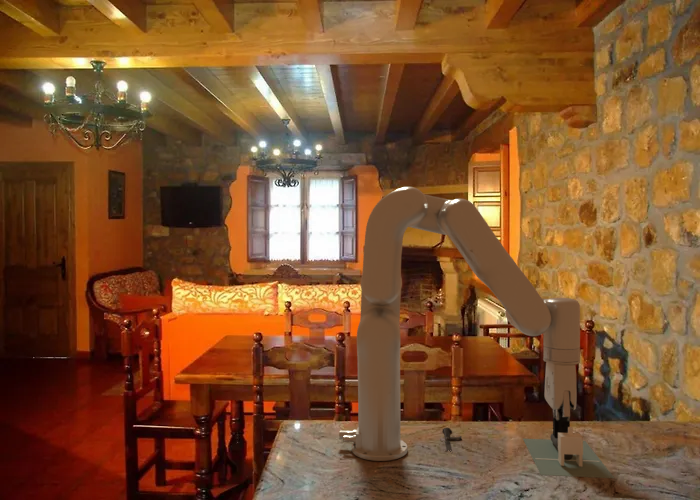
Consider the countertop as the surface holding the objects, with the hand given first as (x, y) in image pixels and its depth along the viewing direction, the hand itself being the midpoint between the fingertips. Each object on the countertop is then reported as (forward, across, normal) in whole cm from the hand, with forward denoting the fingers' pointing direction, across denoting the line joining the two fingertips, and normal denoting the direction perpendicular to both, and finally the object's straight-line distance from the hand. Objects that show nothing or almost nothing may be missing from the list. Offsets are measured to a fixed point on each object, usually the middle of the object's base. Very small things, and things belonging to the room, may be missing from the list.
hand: (561, 437), depth 123 cm
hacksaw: (+5, -1, -20) cm, 21 cm away
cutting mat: (+4, +3, 0) cm, 5 cm away
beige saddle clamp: (+3, +8, 0) cm, 8 cm away
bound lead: (+3, 0, 0) cm, 3 cm away
